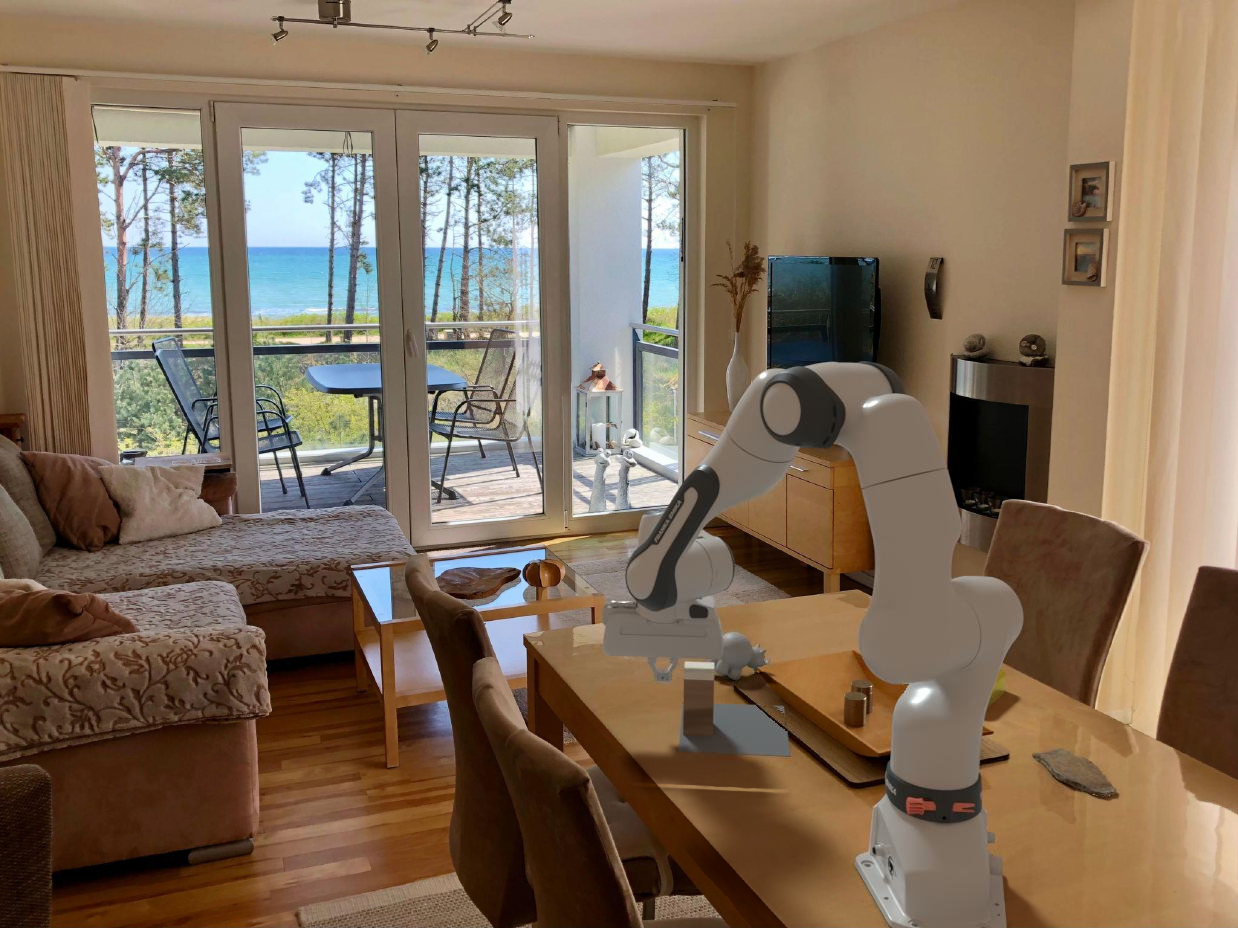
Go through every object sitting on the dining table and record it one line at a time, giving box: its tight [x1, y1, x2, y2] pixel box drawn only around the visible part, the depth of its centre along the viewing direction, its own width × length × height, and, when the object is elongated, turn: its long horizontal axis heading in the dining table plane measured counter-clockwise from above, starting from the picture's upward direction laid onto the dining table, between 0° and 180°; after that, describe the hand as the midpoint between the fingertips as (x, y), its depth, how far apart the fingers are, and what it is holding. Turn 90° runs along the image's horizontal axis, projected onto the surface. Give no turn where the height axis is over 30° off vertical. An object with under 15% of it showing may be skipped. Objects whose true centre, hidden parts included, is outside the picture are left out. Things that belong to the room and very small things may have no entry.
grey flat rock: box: [1031, 748, 1118, 798], centre depth 172 cm, size 8×16×2 cm, turn 10°
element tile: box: [987, 669, 1007, 709], centre depth 203 cm, size 15×15×5 cm
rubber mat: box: [678, 701, 792, 757], centre depth 187 cm, size 20×18×1 cm
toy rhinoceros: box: [706, 631, 771, 681], centre depth 211 cm, size 7×12×8 cm, turn 107°
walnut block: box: [682, 661, 715, 736], centre depth 186 cm, size 5×5×11 cm
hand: (663, 680), depth 186 cm, fingers closed
